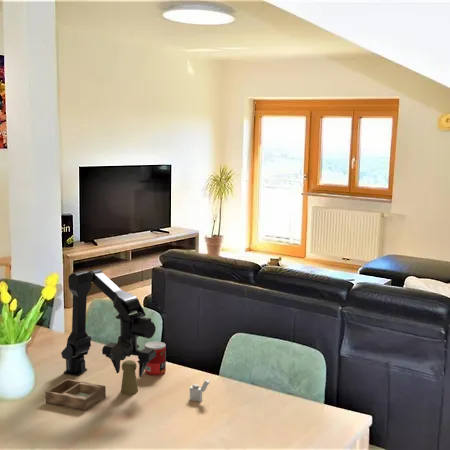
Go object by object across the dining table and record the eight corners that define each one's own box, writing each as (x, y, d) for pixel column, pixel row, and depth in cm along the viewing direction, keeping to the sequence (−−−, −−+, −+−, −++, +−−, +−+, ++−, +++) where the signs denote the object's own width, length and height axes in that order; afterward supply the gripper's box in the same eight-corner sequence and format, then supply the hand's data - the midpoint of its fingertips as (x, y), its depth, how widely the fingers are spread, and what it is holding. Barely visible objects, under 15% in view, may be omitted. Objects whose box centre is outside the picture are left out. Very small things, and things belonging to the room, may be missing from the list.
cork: (134, 395, 214) (134, 365, 213) (118, 393, 215) (117, 363, 214) (140, 388, 220) (140, 359, 218) (124, 386, 221) (124, 357, 220)
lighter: (189, 399, 211) (189, 377, 210) (191, 397, 213) (191, 375, 212) (207, 403, 208) (208, 381, 207) (210, 401, 210) (210, 379, 209)
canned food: (164, 376, 231) (164, 348, 230) (143, 375, 231) (143, 347, 230) (166, 368, 239) (166, 341, 237) (146, 368, 239) (146, 340, 237)
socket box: (45, 402, 208) (45, 391, 207) (67, 389, 219) (67, 378, 218) (85, 411, 202) (85, 399, 201) (105, 397, 213) (105, 386, 212)
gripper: (92, 335, 211) (93, 379, 213) (140, 343, 204) (140, 388, 206) (110, 326, 221) (111, 367, 223) (156, 333, 214) (156, 375, 216)
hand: (129, 374), depth 217 cm, fingers open, 9 cm apart
